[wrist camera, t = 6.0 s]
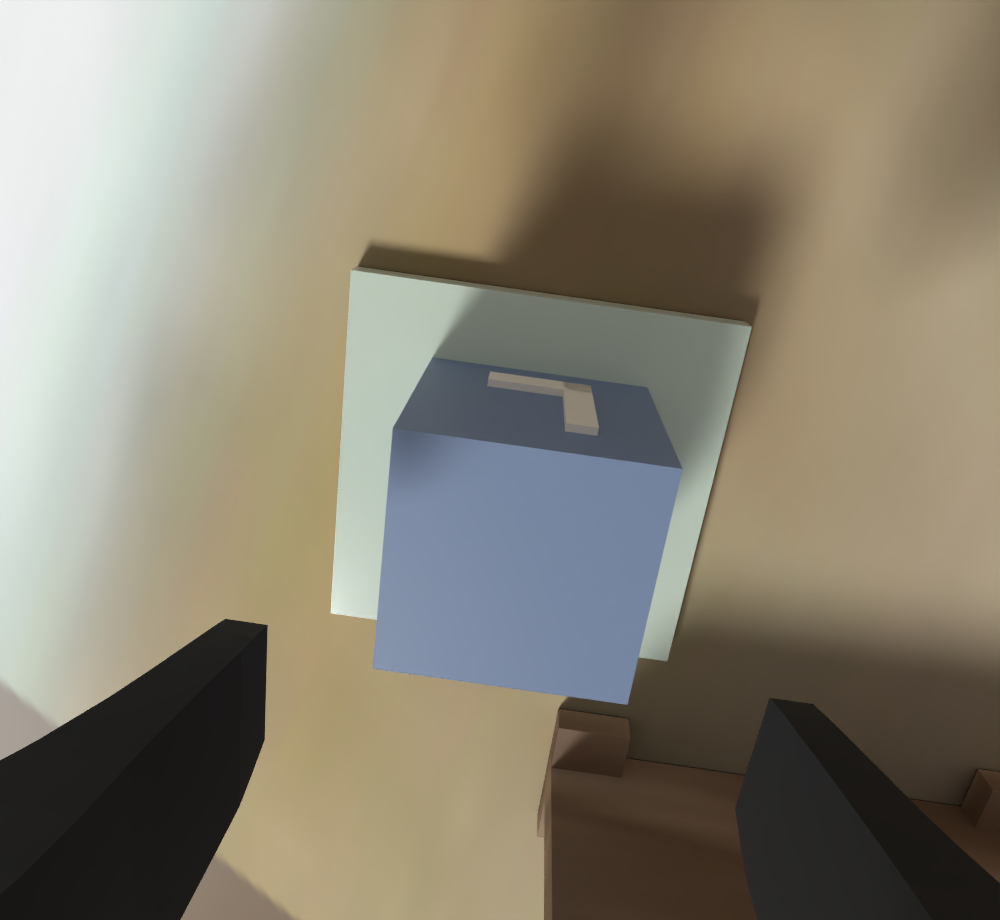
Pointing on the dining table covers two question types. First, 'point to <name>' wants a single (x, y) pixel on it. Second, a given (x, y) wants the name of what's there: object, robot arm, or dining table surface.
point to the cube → (523, 530)
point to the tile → (533, 347)
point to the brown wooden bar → (675, 830)
